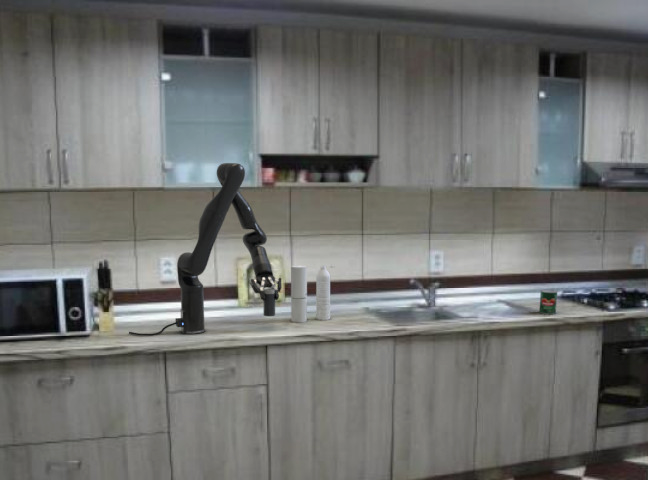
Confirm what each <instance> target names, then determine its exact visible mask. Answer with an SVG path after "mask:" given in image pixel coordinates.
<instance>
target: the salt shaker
mask: <svg viewBox="0 0 648 480" xmlns="http://www.w3.org/2000/svg"><path fill="white" fill-rule="evenodd" d="M263 291H264V294H265V301H263V300H262V303H263V305H262V306H263V309H262V310H263V312H262V315H263V316H265V317H275V316H276V300H275V290H274V289H270V288H263Z"/></svg>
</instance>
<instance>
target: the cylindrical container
mask: <svg viewBox="0 0 648 480" xmlns="http://www.w3.org/2000/svg"><path fill="white" fill-rule="evenodd" d="M290 296H291V297H290V317H291V318H290V321H291V322H293V323H305V322H307V321H308V266H307V265H291V266H290Z"/></svg>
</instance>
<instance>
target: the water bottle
mask: <svg viewBox="0 0 648 480" xmlns="http://www.w3.org/2000/svg"><path fill="white" fill-rule="evenodd" d="M328 268H335V264H329V265H328ZM315 279H316V280H315V284H316V289H315V292H316V295H315V296H316V298H315V308H316V311H315V313H316V314H315V319H316V320H317V321H318V320H319V321H328V320H330V319H331V275H330V273H329V271H328V270H327V265H320V269H319V271H317V273H316V277H315Z"/></svg>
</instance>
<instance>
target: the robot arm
mask: <svg viewBox="0 0 648 480" xmlns="http://www.w3.org/2000/svg"><path fill="white" fill-rule="evenodd" d="M245 176H246V171H245V168H244V165H242V164H241V163H237V162H224V163H220V164H219V166H217V169H216V177H217V180H218V182H219V184H220V185H221V188H220V190H219V191H218V192H217V194H215V196H214V197H213V198H212V199H210V201H208V202H207V204H206V205H205V207H204V209H203V211H202V214H201V216H200V218H199V222H198V236H197V237H198V238H197V241H196V245H195V247H194V248H193V251H192V252H188V251H187V252H183V253H181V254H180V255H179V256H178V258H177V263H176V269H177V270H176V273H177V281H178V282H177V283H178V286H179V289H180V305H181V306H180V317H176V318H175V322H173V323H169V324H167V325H165V326H164V327H163V328H162V329H161V330H159V331H158V332H155V333H138V332H133V331H129V332H128V334H129V335H134V336H141V337H142V336H146V337H147V336H157V335H160V334H162V333H163V332H164V331H165V330H166V329H167V328H170V327H173V326H176V328H180V331H181V333H182V334H183V335H186V334H188V335H196V334H197V335H198V334H202V333H204V332H206V328H205V327H206V325H205V300H204V299H205V298H204V297H205V295H204V284H203V283H202V282H201V281H200V278H199V276H200V275H202V274H203V273H204V272H205V270H206V269H207V266H208V263H209V260H210V257H211V253H212V250H213V247H214V245H215V242H216V241H217V238H218V235H219V233H220V230H221V229H222V226H223V224H224V222H225V219H226V217H227V214H228V212H229V210H230V208H231V205H232V207H233V209H234V211H235V213H236V216H237V218H238V222H239V224H240V226H241V228H242V229H243V230H253V231H250V232H247V233H245V234H243V236H242V242H243V244H244V247H245V248H246V249H247V251H248V252H249V254H250V258H251V262H252V269H253V272H254V276H255V279H254V278H250V282H249V284H250V286H251V288H252V291H254V293H255V294H259V296H260V299H261V300H262V302H263V301H265V294H264V289H274V290H275V301H278V300H279V298H280V293H281V290H282V278H281V277H278V278H276V277H275V275H274V273H273V269H272V265H271V262H270V259H269V257H268V253H267V250H266V248H265V247H264V246H263V245H265V244H266V243H267V241H268V238H267V234H266V233H265V231H264V230H263V229H262V227H261V226H260V225H259V224H258V221H257V219H256V217H255V214H254V211H253V208H252V206H251V205H250V204H249V202H248V201H247V200H246V199H245V197H244V196H243V194H242V193H241V191H240V188H241V186H242V185H243V183H244V180H245Z"/></svg>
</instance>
